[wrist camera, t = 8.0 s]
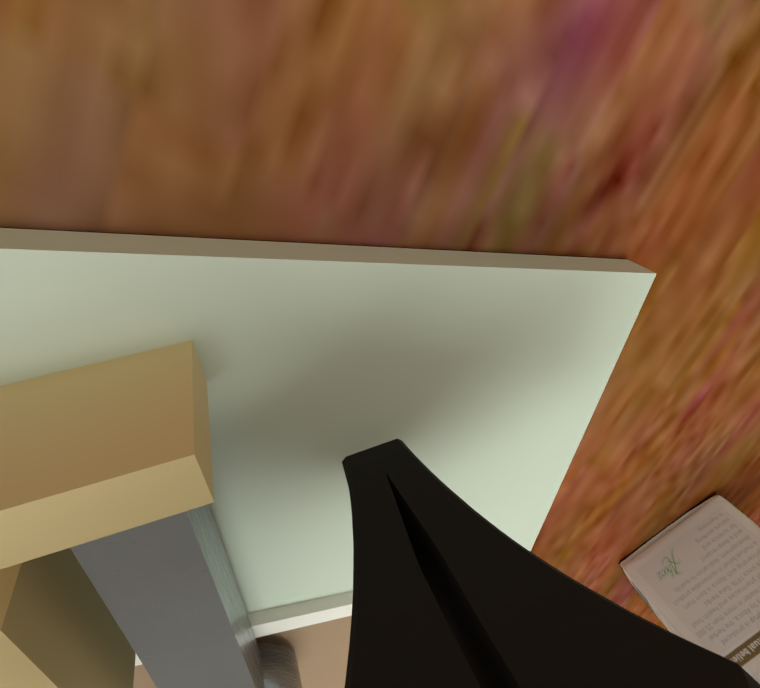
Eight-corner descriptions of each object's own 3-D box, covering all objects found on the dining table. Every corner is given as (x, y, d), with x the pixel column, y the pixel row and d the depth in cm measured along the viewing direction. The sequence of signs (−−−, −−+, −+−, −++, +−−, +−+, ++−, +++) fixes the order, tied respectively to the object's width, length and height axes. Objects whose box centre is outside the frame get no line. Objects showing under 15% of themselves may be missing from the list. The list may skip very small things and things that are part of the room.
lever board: (45, 769, 16) (4, 983, 13) (-153, 220, 8) (-476, 391, 4) (464, 649, 22) (520, 773, 18) (627, 259, 13) (799, 343, 10)
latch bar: (304, 684, 16) (321, 778, 14) (192, 728, 16) (193, 834, 13) (230, 416, 10) (242, 515, 8) (34, 464, 9) (-10, 588, 7)
